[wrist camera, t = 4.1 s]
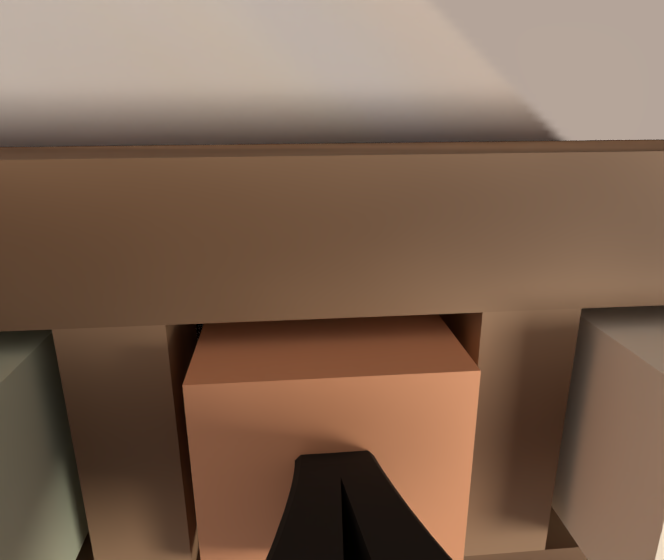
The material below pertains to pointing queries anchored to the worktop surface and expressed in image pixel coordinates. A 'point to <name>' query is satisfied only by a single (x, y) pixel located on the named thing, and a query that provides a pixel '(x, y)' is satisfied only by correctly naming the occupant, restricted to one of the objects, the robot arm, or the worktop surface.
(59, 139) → the worktop surface
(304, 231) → the slotted board
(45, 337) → the block
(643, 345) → the ivory cube
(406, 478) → the salmon pink cube
